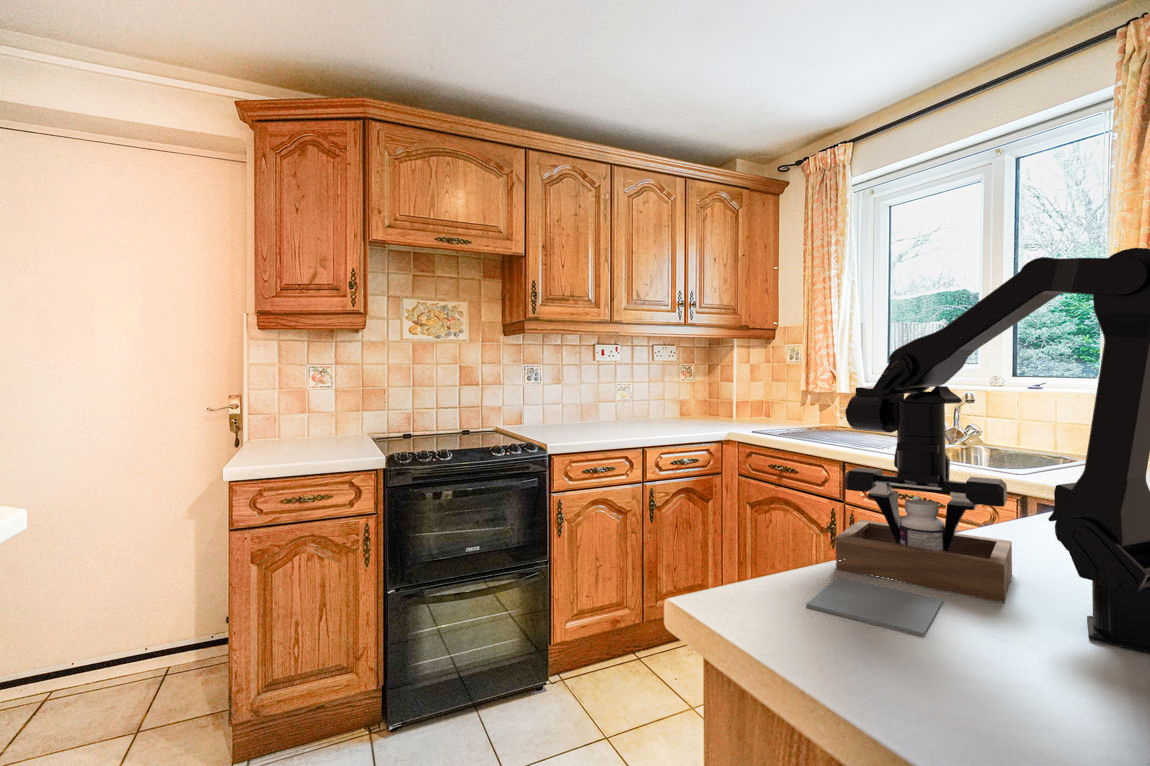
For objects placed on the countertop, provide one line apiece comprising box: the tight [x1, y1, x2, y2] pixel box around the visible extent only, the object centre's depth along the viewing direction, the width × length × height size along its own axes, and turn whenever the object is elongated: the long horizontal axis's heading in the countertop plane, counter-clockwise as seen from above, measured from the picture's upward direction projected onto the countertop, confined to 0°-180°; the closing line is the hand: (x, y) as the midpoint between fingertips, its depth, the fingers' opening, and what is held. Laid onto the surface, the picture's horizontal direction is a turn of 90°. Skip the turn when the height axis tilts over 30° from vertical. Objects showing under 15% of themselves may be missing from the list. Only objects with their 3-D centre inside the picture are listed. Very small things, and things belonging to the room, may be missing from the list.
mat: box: [805, 576, 944, 638], centre depth 66 cm, size 12×12×1 cm
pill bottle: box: [900, 499, 945, 552], centre depth 77 cm, size 5×5×10 cm
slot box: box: [835, 519, 1013, 603], centre depth 77 cm, size 13×19×5 cm
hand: (922, 546), depth 77 cm, fingers closed on pill bottle, 5 cm apart
